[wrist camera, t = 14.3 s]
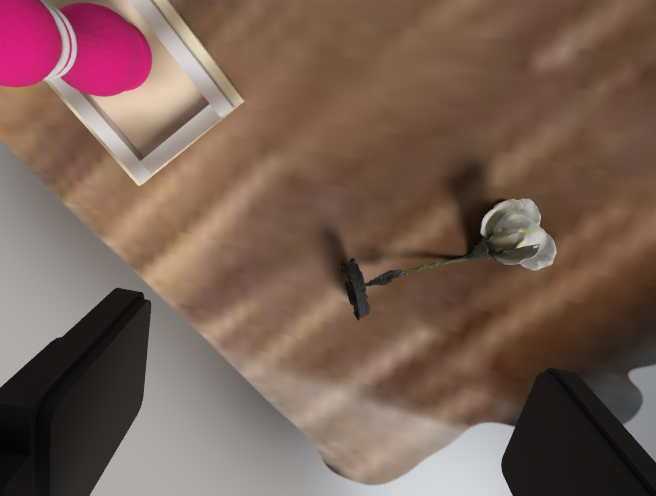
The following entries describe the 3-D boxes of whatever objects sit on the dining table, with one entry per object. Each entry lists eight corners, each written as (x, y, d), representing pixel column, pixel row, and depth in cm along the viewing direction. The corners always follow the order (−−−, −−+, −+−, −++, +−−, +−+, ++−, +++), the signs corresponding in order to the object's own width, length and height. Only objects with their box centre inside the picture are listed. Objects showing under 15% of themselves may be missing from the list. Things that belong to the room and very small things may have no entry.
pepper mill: (64, 56, 42) (-153, 24, 23) (109, -6, 40) (-83, -97, 21) (127, 112, 43) (-26, 126, 24) (173, 55, 42) (47, 22, 23)
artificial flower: (331, 239, 50) (338, 240, 40) (521, 193, 51) (573, 184, 41) (349, 315, 51) (360, 335, 41) (537, 269, 52) (593, 277, 42)
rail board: (-10, 12, 41) (-30, 7, 39) (97, -95, 39) (82, -107, 36) (142, 184, 47) (132, 188, 44) (245, 100, 44) (240, 100, 42)
